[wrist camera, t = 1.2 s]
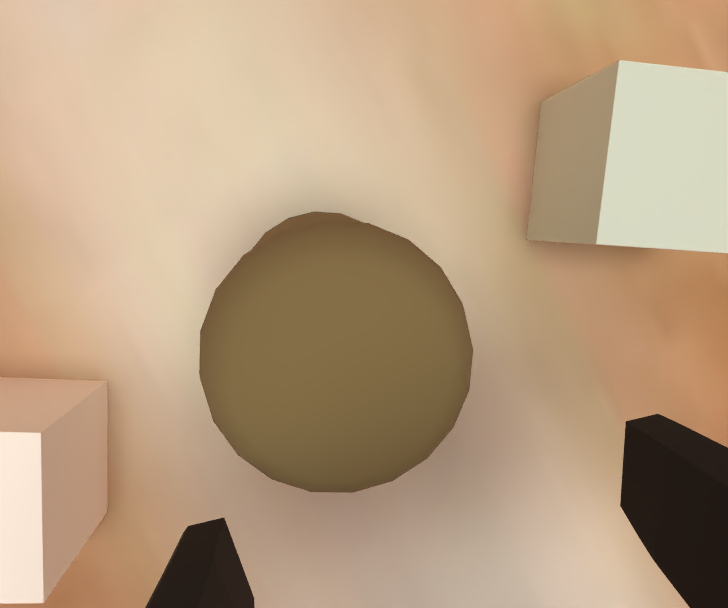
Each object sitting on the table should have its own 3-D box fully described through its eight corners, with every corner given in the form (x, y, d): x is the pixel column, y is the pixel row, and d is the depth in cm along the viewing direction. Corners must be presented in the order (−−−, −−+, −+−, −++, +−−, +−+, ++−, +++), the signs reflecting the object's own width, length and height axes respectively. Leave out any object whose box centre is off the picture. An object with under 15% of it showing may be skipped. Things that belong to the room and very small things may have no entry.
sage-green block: (648, 248, 21) (755, 255, 16) (525, 239, 20) (596, 244, 15) (667, 114, 20) (784, 78, 15) (540, 102, 20) (619, 59, 15)
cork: (209, 252, 19) (82, 286, 8) (366, 184, 19) (444, 130, 8) (281, 401, 20) (252, 607, 9) (428, 335, 20) (569, 461, 9)
